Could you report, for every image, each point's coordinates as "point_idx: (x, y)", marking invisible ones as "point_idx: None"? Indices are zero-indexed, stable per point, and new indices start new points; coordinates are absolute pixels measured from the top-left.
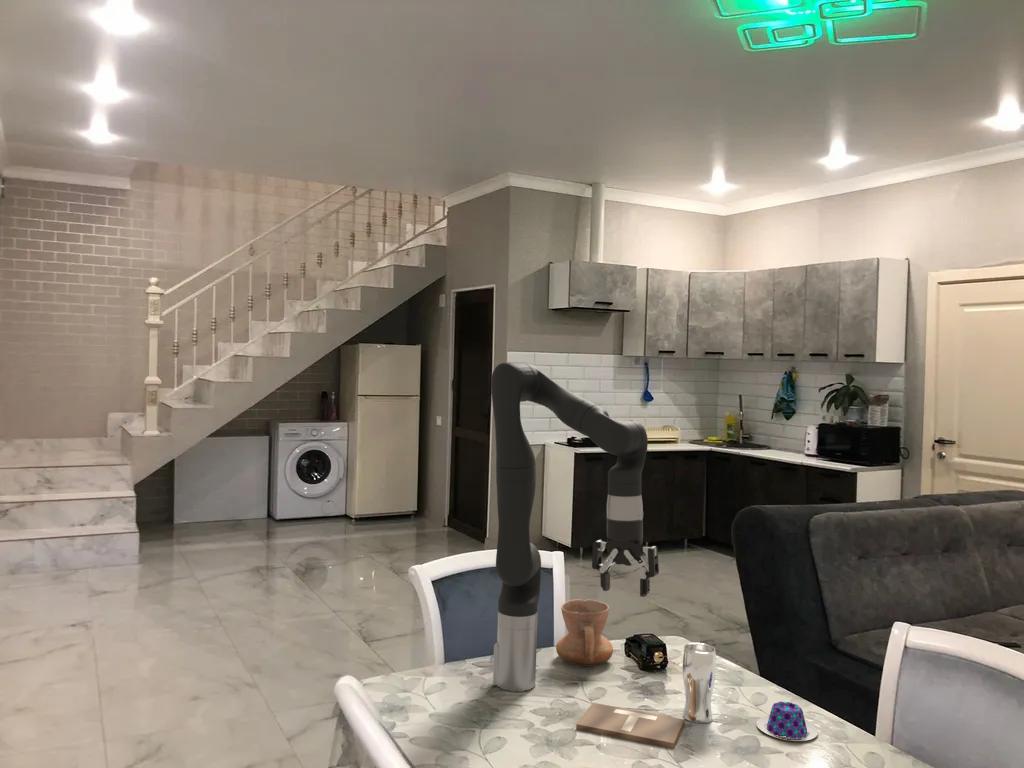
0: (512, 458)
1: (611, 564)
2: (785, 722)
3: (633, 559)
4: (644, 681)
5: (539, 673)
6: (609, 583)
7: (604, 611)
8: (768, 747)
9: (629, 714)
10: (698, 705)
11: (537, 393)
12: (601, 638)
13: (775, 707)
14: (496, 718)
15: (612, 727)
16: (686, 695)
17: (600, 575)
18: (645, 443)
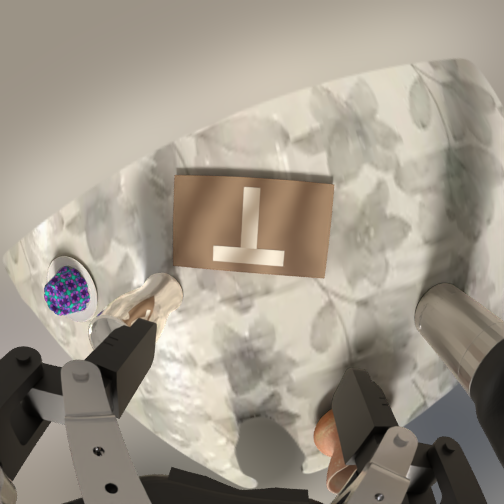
0: None
1: (345, 491)
2: (60, 277)
3: (88, 486)
4: (260, 388)
5: (410, 360)
6: (337, 417)
7: (333, 473)
8: (78, 232)
9: (257, 252)
10: (149, 283)
11: None
12: (332, 444)
13: (63, 293)
14: (443, 184)
15: (275, 192)
16: (165, 297)
17: (397, 423)
18: None
